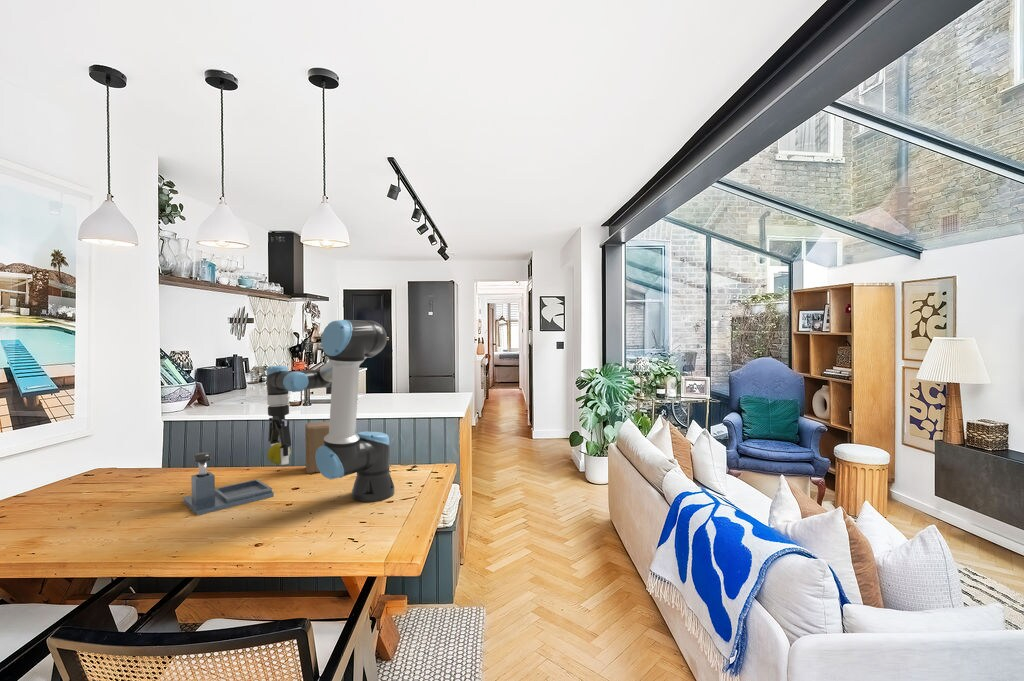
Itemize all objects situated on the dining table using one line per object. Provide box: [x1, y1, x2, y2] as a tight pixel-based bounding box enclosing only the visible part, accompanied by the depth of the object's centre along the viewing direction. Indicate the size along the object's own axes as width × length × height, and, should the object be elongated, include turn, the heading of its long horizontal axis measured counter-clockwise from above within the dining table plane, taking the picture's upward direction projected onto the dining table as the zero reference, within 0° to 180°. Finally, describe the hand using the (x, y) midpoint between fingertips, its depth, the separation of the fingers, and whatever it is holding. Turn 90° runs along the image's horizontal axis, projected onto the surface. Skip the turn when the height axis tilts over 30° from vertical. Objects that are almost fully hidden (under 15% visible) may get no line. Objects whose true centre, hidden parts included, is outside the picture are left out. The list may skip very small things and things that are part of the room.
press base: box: [182, 471, 275, 516], centre depth 171 cm, size 18×24×10 cm
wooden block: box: [304, 421, 330, 474], centre depth 206 cm, size 10×10×20 cm
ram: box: [193, 451, 212, 477], centre depth 165 cm, size 5×5×10 cm
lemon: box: [266, 442, 291, 465], centre depth 187 cm, size 11×8×8 cm
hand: (280, 461), depth 187 cm, fingers closed on lemon, 9 cm apart
